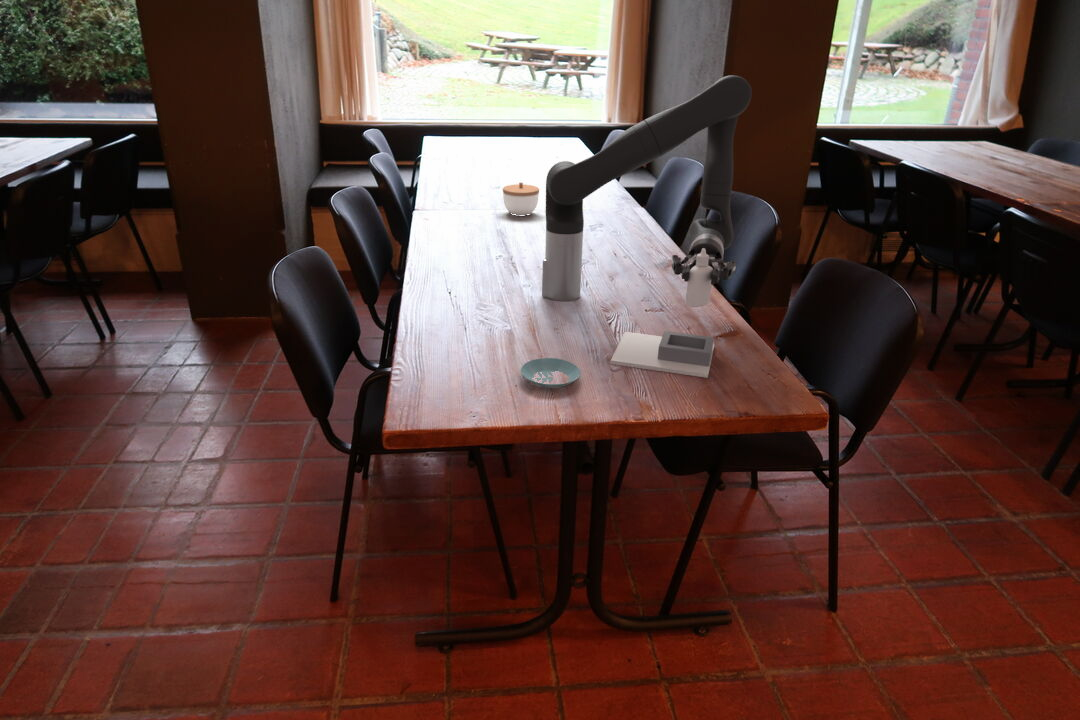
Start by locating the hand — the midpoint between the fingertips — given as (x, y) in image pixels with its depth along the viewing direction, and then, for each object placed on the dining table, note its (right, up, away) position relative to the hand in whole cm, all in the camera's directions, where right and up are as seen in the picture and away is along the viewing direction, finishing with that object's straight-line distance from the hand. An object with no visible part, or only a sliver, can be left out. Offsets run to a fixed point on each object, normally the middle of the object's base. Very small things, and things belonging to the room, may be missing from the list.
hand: (699, 278), depth 153 cm
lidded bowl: (-39, +35, +113) cm, 124 cm away
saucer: (-30, -21, -3) cm, 37 cm away
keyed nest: (-6, -16, +8) cm, 19 cm away
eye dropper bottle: (+1, -5, +5) cm, 7 cm away
